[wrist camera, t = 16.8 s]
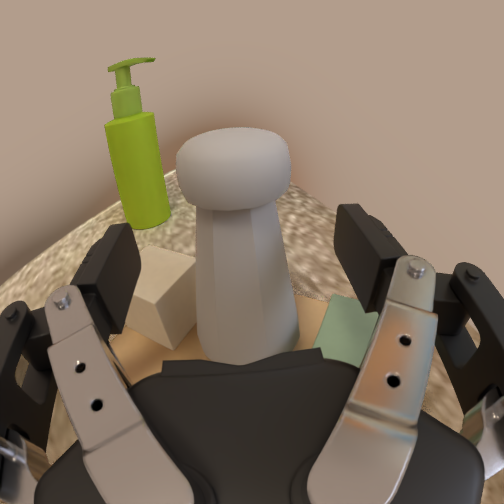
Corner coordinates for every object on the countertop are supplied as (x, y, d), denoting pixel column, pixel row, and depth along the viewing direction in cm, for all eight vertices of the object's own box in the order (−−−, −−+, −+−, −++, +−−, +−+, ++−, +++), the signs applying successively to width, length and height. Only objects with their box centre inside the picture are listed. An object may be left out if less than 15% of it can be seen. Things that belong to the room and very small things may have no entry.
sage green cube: (298, 401, 14) (306, 359, 12) (322, 342, 17) (332, 292, 15) (373, 421, 13) (403, 383, 10) (387, 359, 16) (410, 311, 13)
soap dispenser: (164, 231, 32) (135, 54, 20) (119, 228, 33) (85, 71, 22) (185, 207, 36) (164, 54, 25) (142, 206, 38) (117, 66, 26)
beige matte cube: (127, 327, 19) (105, 281, 16) (162, 289, 22) (148, 243, 20) (173, 351, 17) (154, 303, 15) (208, 306, 21) (198, 257, 18)
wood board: (99, 368, 17) (93, 360, 16) (188, 271, 26) (186, 263, 25) (353, 484, 10) (359, 481, 10) (392, 327, 19) (396, 318, 18)
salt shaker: (236, 306, 21) (215, 118, 13) (310, 334, 18) (330, 125, 11) (187, 365, 16) (120, 152, 9) (269, 406, 14) (265, 163, 6)
